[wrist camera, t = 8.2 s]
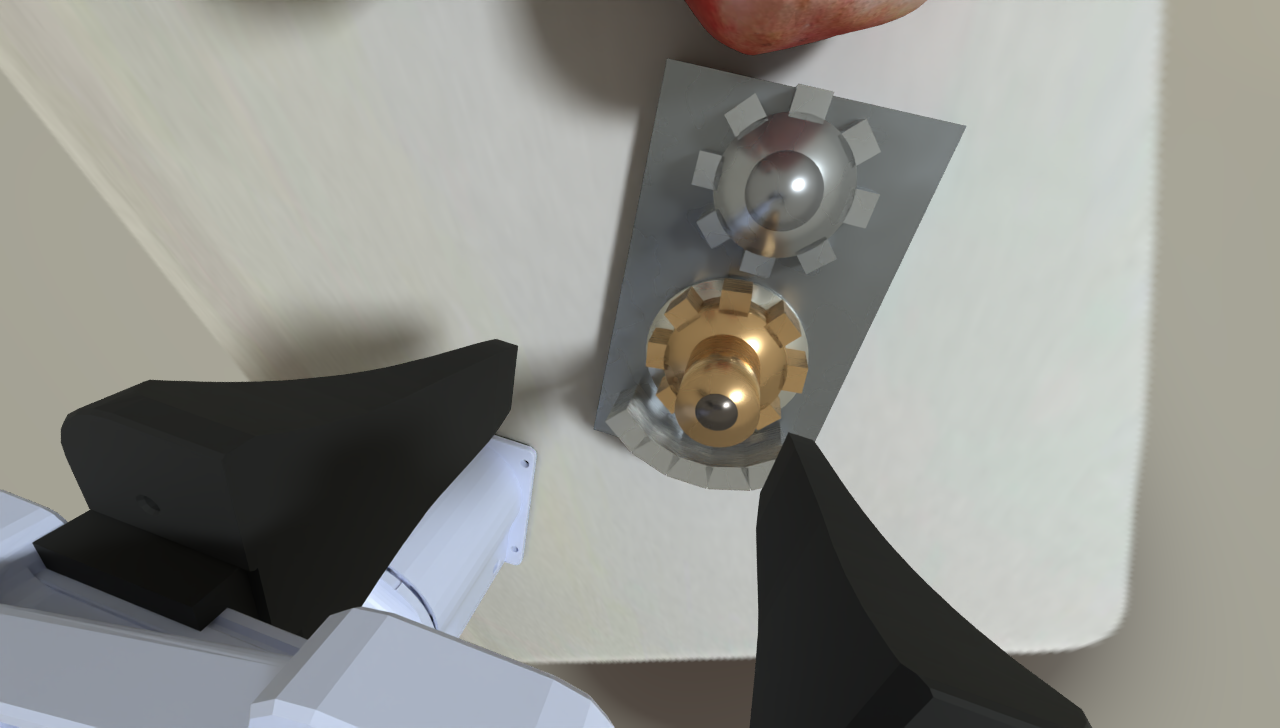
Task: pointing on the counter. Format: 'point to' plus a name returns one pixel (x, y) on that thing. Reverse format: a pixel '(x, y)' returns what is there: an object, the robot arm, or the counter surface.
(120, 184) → the counter surface
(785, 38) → the fruit
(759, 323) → the planet gear
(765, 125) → the sun gear
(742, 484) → the ring gear segment
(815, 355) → the carrier plate
